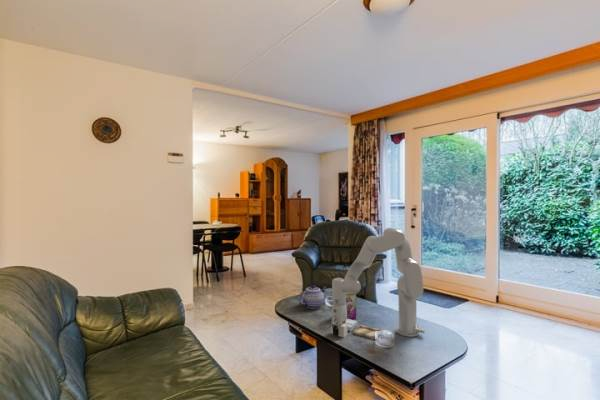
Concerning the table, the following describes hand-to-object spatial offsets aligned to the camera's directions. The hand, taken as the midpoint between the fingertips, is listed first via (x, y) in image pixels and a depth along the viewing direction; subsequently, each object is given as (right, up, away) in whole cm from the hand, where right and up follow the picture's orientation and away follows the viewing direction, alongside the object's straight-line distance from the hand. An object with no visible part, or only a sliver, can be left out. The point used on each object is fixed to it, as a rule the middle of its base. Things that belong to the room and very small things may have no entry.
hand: (339, 331), depth 167 cm
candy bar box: (+8, -1, +23) cm, 24 cm away
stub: (0, -1, 0) cm, 1 cm away
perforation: (+2, -1, +4) cm, 4 cm away
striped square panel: (+6, -1, +9) cm, 11 cm away
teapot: (-13, -1, +42) cm, 44 cm away
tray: (+16, -1, 0) cm, 16 cm away
